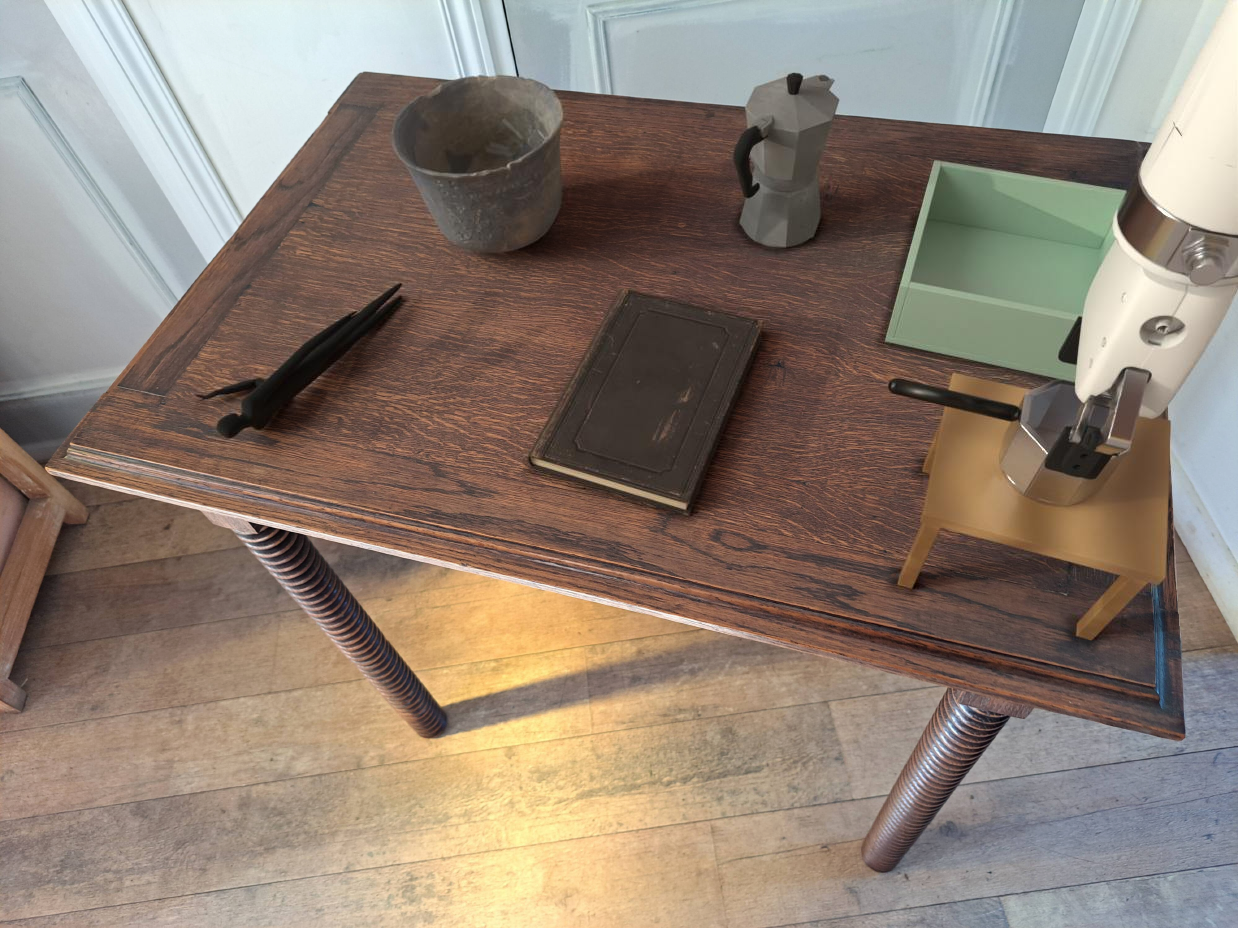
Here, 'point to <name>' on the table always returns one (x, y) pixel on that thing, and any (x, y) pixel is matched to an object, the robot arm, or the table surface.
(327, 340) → the dark humanoid figurine
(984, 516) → the stand
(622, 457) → the hardcover book
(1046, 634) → the table surface
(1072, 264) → the basin
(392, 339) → the table surface
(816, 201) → the coffeepot
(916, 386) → the saucepan
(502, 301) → the table surface
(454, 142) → the cup
